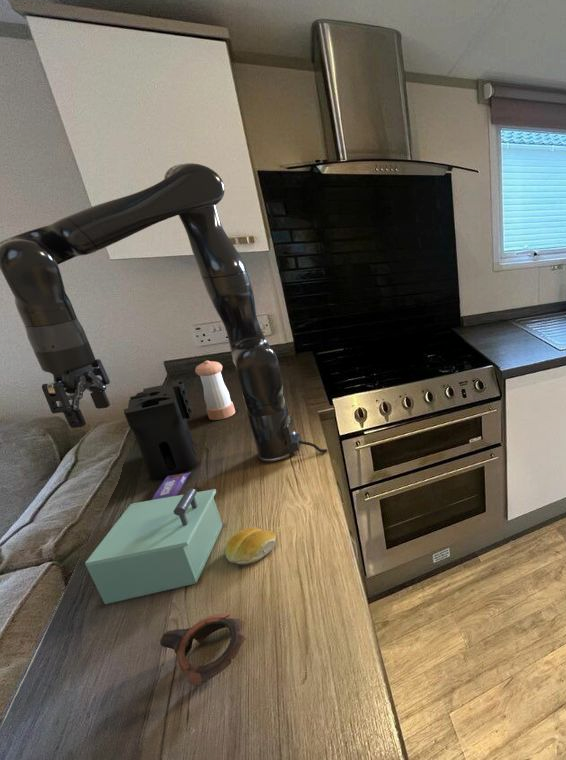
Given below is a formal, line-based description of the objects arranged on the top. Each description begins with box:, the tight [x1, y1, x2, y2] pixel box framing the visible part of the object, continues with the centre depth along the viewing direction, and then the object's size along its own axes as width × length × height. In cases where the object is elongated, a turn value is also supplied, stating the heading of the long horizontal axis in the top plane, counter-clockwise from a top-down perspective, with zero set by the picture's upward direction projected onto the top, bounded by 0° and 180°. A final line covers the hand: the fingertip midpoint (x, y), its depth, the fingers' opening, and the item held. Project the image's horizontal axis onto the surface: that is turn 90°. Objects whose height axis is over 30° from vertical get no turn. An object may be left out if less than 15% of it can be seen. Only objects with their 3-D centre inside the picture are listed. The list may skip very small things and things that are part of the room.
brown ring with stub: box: [159, 613, 247, 686], centre depth 69 cm, size 12×10×8 cm
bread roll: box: [224, 526, 277, 565], centre depth 90 cm, size 8×9×4 cm
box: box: [86, 496, 224, 605], centre depth 86 cm, size 14×16×9 cm
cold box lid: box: [84, 488, 217, 567], centre depth 84 cm, size 15×16×5 cm
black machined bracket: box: [123, 379, 197, 480], centre depth 117 cm, size 12×21×22 cm, turn 39°
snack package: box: [151, 471, 192, 500], centre depth 108 cm, size 12×2×5 cm
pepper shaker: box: [194, 360, 236, 421], centre depth 141 cm, size 7×7×19 cm
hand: (91, 416), depth 91 cm, fingers open, 8 cm apart
